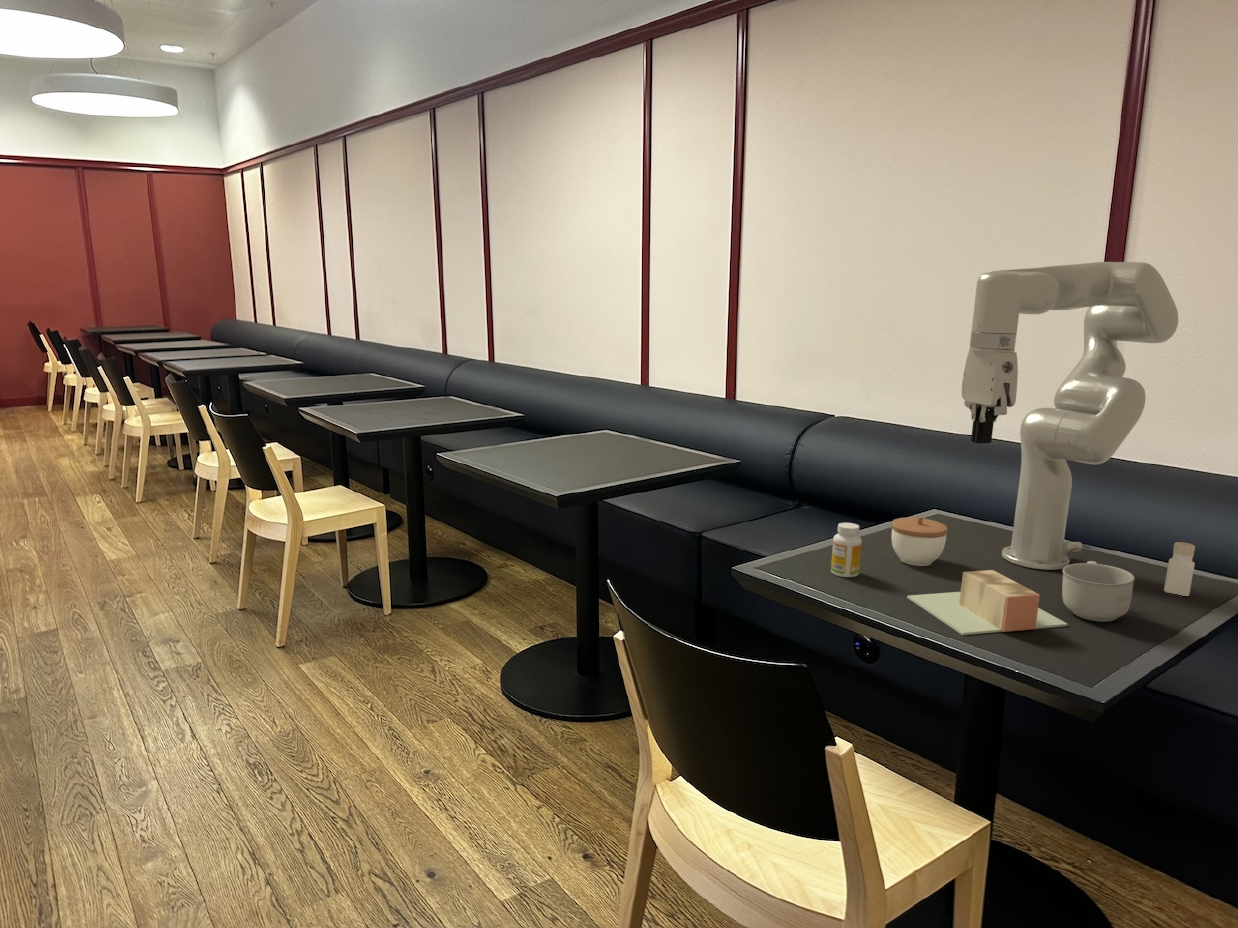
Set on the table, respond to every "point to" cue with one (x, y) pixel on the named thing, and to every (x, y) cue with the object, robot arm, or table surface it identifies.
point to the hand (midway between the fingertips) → (980, 442)
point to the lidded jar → (918, 540)
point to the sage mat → (969, 614)
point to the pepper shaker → (1180, 569)
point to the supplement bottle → (846, 551)
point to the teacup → (1097, 591)
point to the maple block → (999, 600)
